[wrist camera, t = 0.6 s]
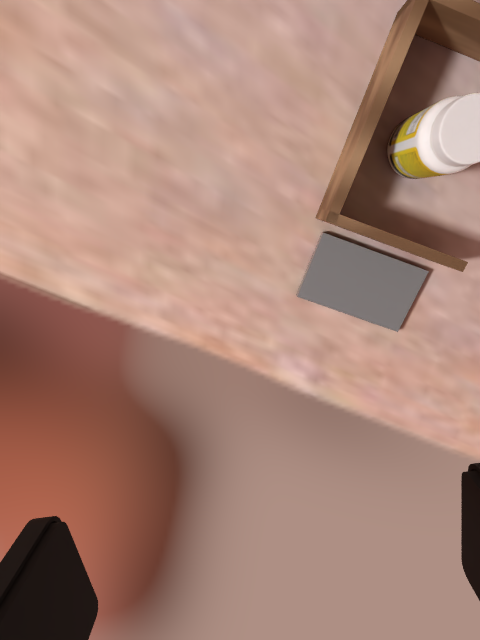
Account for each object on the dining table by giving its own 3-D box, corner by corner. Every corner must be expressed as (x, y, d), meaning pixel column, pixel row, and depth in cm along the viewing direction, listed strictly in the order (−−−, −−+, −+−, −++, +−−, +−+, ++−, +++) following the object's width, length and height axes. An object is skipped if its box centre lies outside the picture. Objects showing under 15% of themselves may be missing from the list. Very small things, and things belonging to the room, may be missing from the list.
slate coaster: (322, 231, 33) (323, 232, 33) (425, 270, 34) (428, 271, 33) (296, 294, 35) (297, 296, 34) (395, 329, 36) (397, 331, 35)
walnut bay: (397, 12, 28) (423, -21, 24) (534, 70, 29) (583, 48, 25) (315, 217, 33) (325, 221, 28) (435, 262, 34) (462, 271, 29)
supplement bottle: (442, 176, 32) (508, 169, 24) (385, 181, 32) (430, 175, 24) (447, 112, 30) (519, 80, 22) (387, 117, 30) (436, 89, 22)
